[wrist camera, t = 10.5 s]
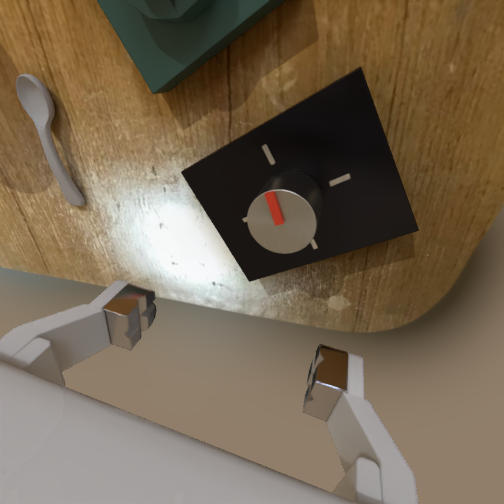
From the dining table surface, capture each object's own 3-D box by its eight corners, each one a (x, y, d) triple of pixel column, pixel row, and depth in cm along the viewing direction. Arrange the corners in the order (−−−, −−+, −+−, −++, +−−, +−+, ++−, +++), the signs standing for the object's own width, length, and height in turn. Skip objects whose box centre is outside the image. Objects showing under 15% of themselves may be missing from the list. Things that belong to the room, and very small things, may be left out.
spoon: (48, 71, 26) (28, 74, 24) (96, 201, 32) (83, 210, 31) (21, 72, 26) (0, 75, 25) (74, 198, 33) (60, 207, 32)
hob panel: (360, 66, 19) (361, 66, 17) (412, 212, 23) (419, 231, 21) (197, 161, 26) (179, 172, 23) (258, 263, 30) (248, 283, 27)
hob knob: (329, 220, 22) (324, 250, 19) (273, 231, 24) (258, 261, 20) (313, 161, 20) (304, 182, 17) (254, 179, 22) (235, 201, 19)
